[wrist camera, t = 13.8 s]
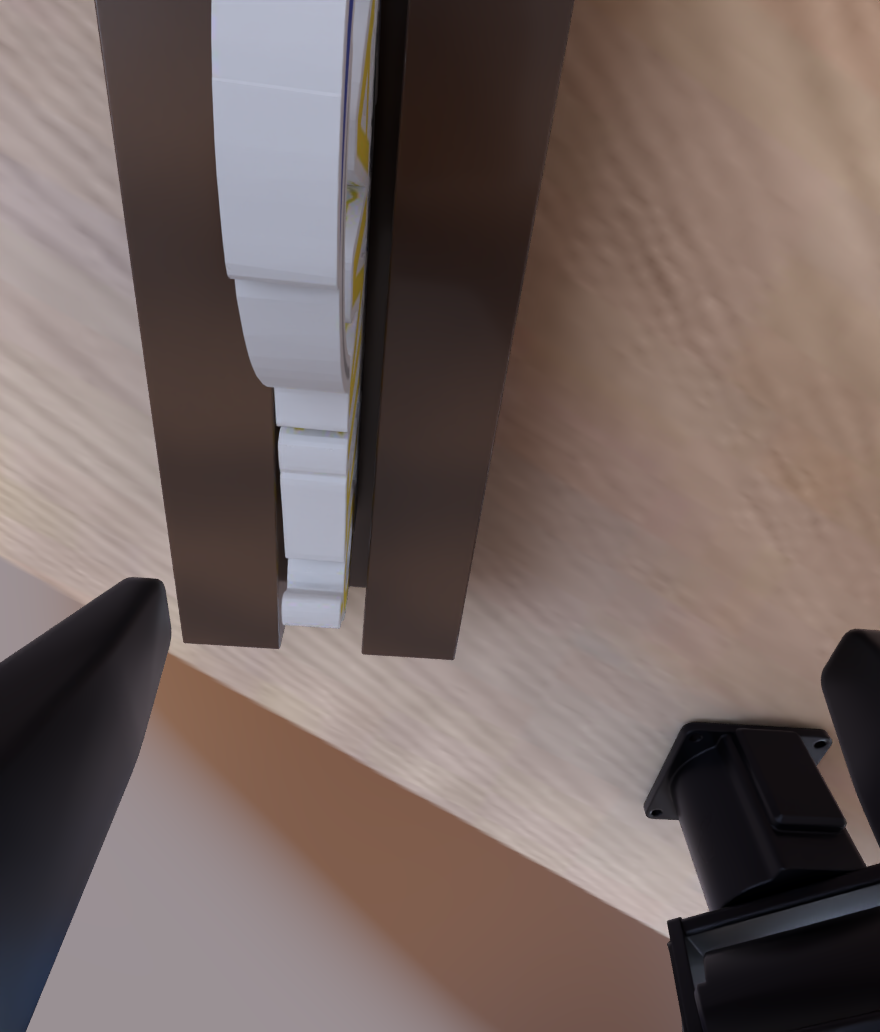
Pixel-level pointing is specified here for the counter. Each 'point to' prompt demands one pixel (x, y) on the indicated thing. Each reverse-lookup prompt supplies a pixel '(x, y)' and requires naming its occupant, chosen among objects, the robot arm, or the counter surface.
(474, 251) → the sign holder
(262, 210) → the decorative sign
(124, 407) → the counter surface
